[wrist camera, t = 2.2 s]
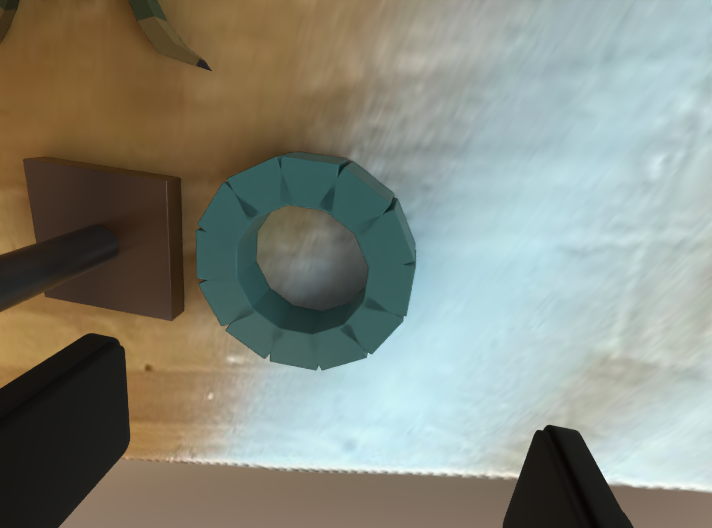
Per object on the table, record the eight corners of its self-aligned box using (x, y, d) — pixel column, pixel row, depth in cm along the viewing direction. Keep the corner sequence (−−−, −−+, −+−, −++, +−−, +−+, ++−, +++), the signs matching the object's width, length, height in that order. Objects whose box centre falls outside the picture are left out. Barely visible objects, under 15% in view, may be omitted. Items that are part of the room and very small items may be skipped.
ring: (430, 170, 22) (432, 178, 19) (396, 357, 26) (393, 386, 24) (221, 140, 23) (194, 143, 20) (219, 324, 27) (197, 347, 25)
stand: (181, 177, 24) (-7, 223, 14) (184, 311, 28) (34, 433, 17) (44, 156, 25) (-234, 184, 14) (62, 288, 28) (-154, 391, 18)
